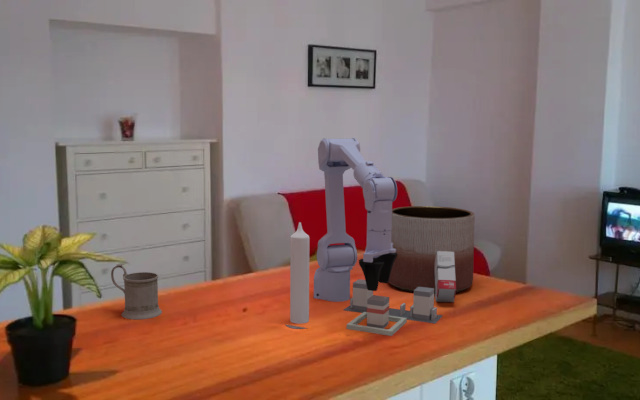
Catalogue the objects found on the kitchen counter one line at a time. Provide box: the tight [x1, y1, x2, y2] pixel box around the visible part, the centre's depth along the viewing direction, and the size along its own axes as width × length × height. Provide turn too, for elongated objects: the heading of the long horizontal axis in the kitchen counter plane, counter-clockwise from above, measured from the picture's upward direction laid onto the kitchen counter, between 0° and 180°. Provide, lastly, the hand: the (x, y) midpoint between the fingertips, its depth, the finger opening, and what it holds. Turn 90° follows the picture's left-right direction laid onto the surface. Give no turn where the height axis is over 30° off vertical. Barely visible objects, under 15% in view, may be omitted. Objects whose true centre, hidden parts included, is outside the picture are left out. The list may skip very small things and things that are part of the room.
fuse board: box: [343, 296, 444, 324], centre depth 165 cm, size 24×7×4 cm, turn 65°
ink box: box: [434, 251, 457, 303], centre depth 177 cm, size 9×5×12 cm
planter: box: [388, 205, 476, 295], centre depth 195 cm, size 25×25×22 cm
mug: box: [110, 263, 163, 320], centre depth 167 cm, size 14×10×12 cm
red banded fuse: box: [366, 294, 390, 329], centre depth 155 cm, size 4×4×7 cm
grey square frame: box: [346, 312, 408, 337], centre depth 156 cm, size 11×11×2 cm
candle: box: [284, 221, 310, 330], centre depth 157 cm, size 7×7×25 cm
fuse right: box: [412, 287, 435, 321], centre depth 162 cm, size 4×4×7 cm
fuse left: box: [352, 278, 374, 312], centre depth 168 cm, size 4×4×7 cm
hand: (378, 286), depth 155 cm, fingers open, 7 cm apart
